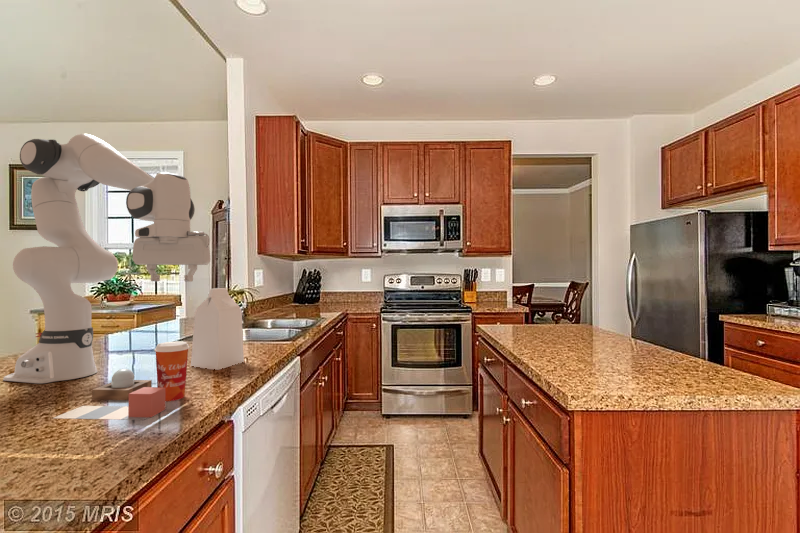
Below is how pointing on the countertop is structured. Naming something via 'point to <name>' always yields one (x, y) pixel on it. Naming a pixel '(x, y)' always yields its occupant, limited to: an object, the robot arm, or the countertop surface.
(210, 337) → the milk
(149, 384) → the button box
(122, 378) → the dome
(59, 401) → the countertop surface
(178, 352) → the paper cup
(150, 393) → the red block
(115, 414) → the track
